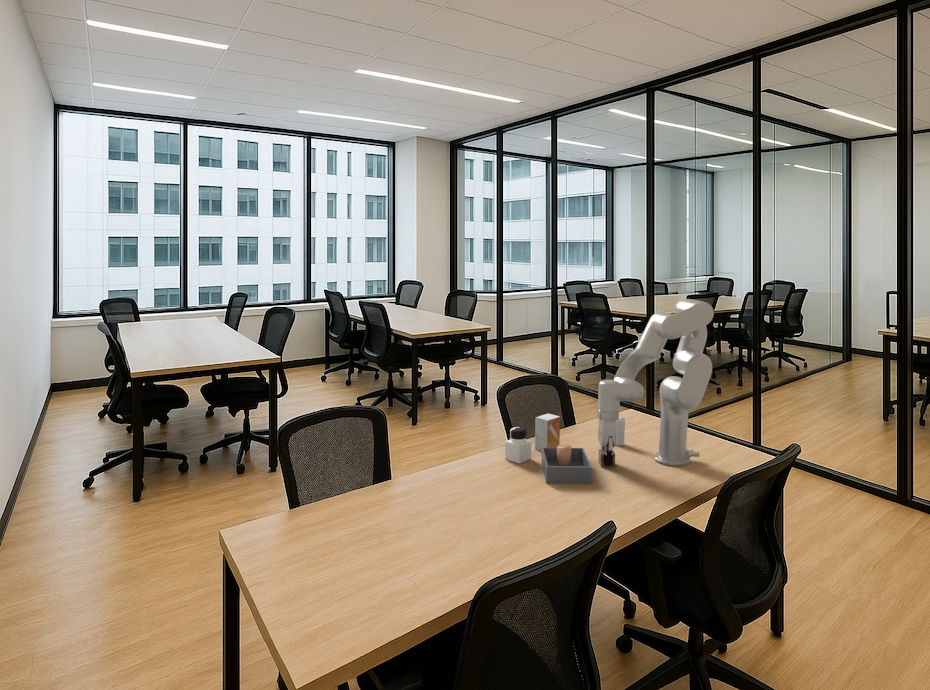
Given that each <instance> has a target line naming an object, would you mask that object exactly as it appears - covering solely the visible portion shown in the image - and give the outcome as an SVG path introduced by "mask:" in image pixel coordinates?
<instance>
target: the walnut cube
mask: <svg viewBox="0 0 930 690" xmlns="http://www.w3.org/2000/svg"><path fill="white" fill-rule="evenodd" d="M607 450H609V449H607ZM604 454H605V449H601V448H599V449H598V464H599V467H600V466H601V467H600V468H616V453H615V451H614V450H613V465H612V466H604Z"/></svg>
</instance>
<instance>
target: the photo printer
mask: <svg viewBox="0 0 930 690" xmlns="http://www.w3.org/2000/svg"><path fill="white" fill-rule="evenodd" d="M625 430H626V419H625V418H624V417H623V416H622V415H620V414H619V420H616V445H615V446H617V447H621V446H623V445H624V444H625Z"/></svg>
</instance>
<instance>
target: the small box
mask: <svg viewBox="0 0 930 690" xmlns="http://www.w3.org/2000/svg"><path fill="white" fill-rule="evenodd" d="M534 426H535V427H534V428H535V429H534V430H535V431H534V449H535V450H537V451H540V452H542V448H557V446H558V445H560V441H561V440H560V438H561V437H560V436H561V435H560V434H561V416H560V415H555V414H551V413H545V414H541V415H539V416H536V417H535V424H534Z"/></svg>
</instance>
